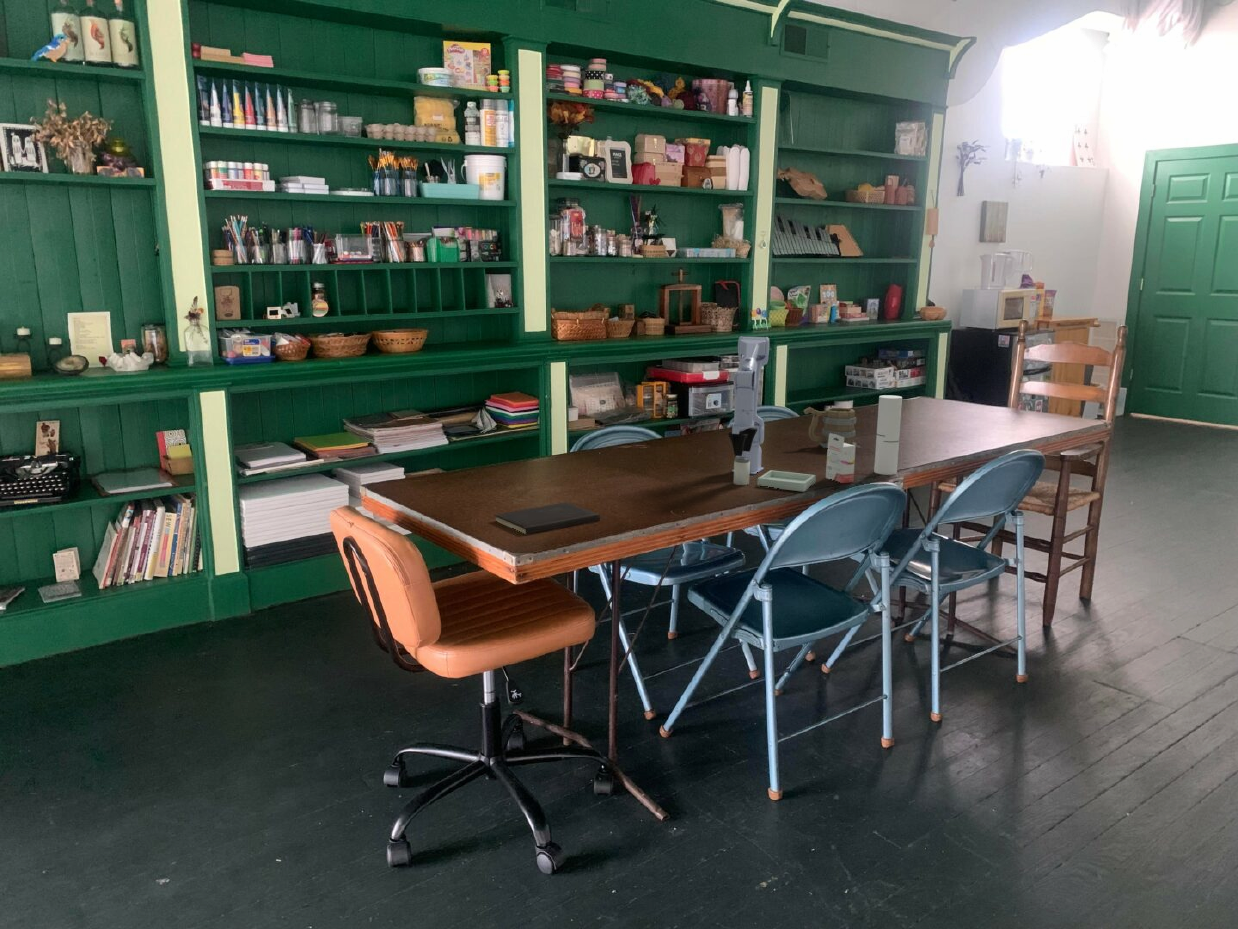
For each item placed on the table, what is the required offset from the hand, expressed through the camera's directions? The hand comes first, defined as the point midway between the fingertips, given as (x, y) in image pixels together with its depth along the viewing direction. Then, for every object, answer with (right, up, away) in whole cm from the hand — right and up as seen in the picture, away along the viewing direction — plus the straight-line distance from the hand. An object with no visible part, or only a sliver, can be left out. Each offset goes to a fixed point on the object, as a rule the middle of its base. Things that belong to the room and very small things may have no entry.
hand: (742, 453), depth 289 cm
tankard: (+40, +3, +60) cm, 72 cm away
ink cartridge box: (+32, -9, +7) cm, 34 cm away
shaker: (0, -9, +2) cm, 10 cm away
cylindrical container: (+49, -6, +19) cm, 53 cm away
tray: (+14, -10, +1) cm, 17 cm away
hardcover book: (-57, -19, -41) cm, 73 cm away
